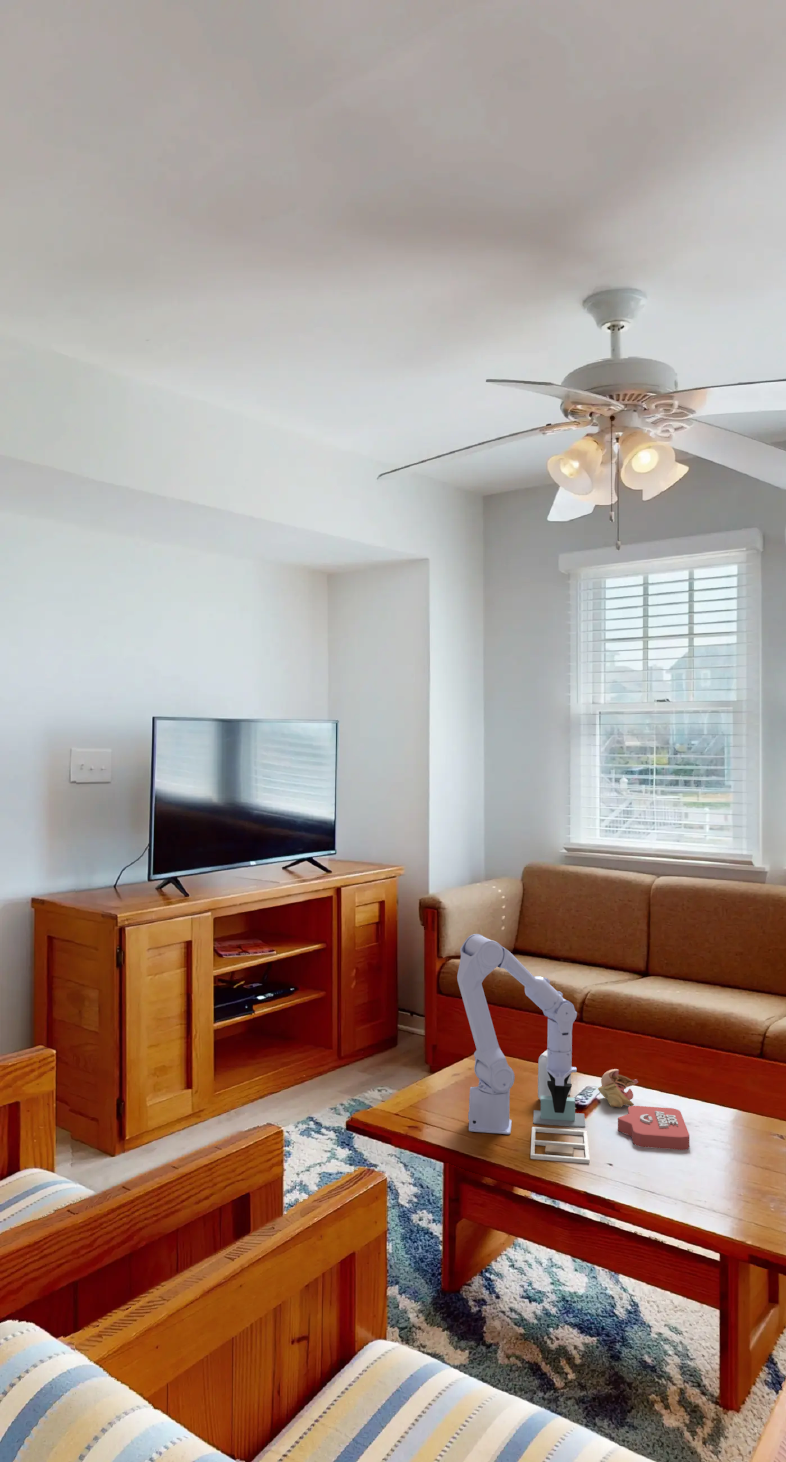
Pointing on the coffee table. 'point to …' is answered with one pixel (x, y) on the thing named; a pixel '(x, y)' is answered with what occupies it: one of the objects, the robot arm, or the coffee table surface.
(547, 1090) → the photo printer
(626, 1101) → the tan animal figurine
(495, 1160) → the coffee table surface
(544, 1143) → the rack
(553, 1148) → the offcut stack
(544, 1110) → the pale teal block
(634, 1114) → the plaque
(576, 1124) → the mat
